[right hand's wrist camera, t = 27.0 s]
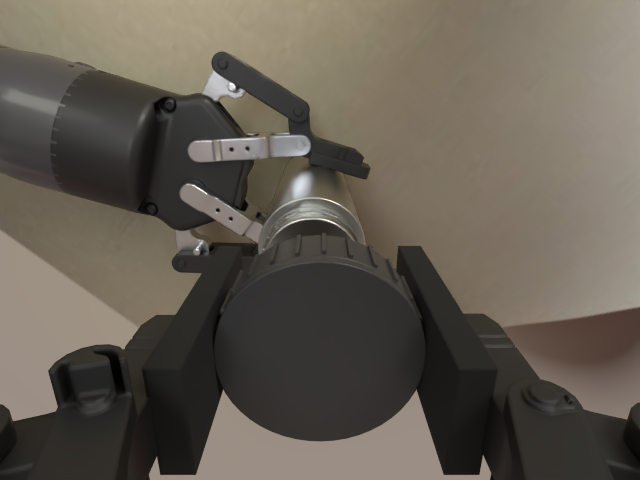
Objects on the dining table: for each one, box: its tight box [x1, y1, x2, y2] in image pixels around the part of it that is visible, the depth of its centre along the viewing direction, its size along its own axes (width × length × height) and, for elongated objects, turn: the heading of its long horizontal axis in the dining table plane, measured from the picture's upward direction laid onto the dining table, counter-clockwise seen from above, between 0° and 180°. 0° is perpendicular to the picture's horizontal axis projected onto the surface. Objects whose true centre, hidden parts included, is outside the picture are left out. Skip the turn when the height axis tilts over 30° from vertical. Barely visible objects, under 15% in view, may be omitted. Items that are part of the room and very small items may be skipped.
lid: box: [213, 233, 426, 441], centre depth 11 cm, size 5×6×2 cm
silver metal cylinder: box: [258, 156, 366, 255], centre depth 24 cm, size 5×5×16 cm
